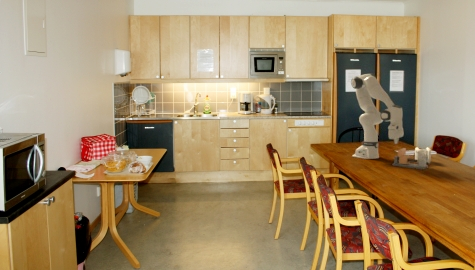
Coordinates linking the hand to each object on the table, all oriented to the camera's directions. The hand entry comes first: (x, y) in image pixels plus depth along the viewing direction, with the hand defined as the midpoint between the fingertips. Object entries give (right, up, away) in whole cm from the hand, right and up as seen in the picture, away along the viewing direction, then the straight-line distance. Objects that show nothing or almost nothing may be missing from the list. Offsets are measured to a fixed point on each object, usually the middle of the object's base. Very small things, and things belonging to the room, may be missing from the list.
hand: (396, 143), depth 354 cm
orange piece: (+6, -15, -3) cm, 17 cm away
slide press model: (+9, -18, -5) cm, 21 cm away
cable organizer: (+24, -16, +9) cm, 30 cm away
